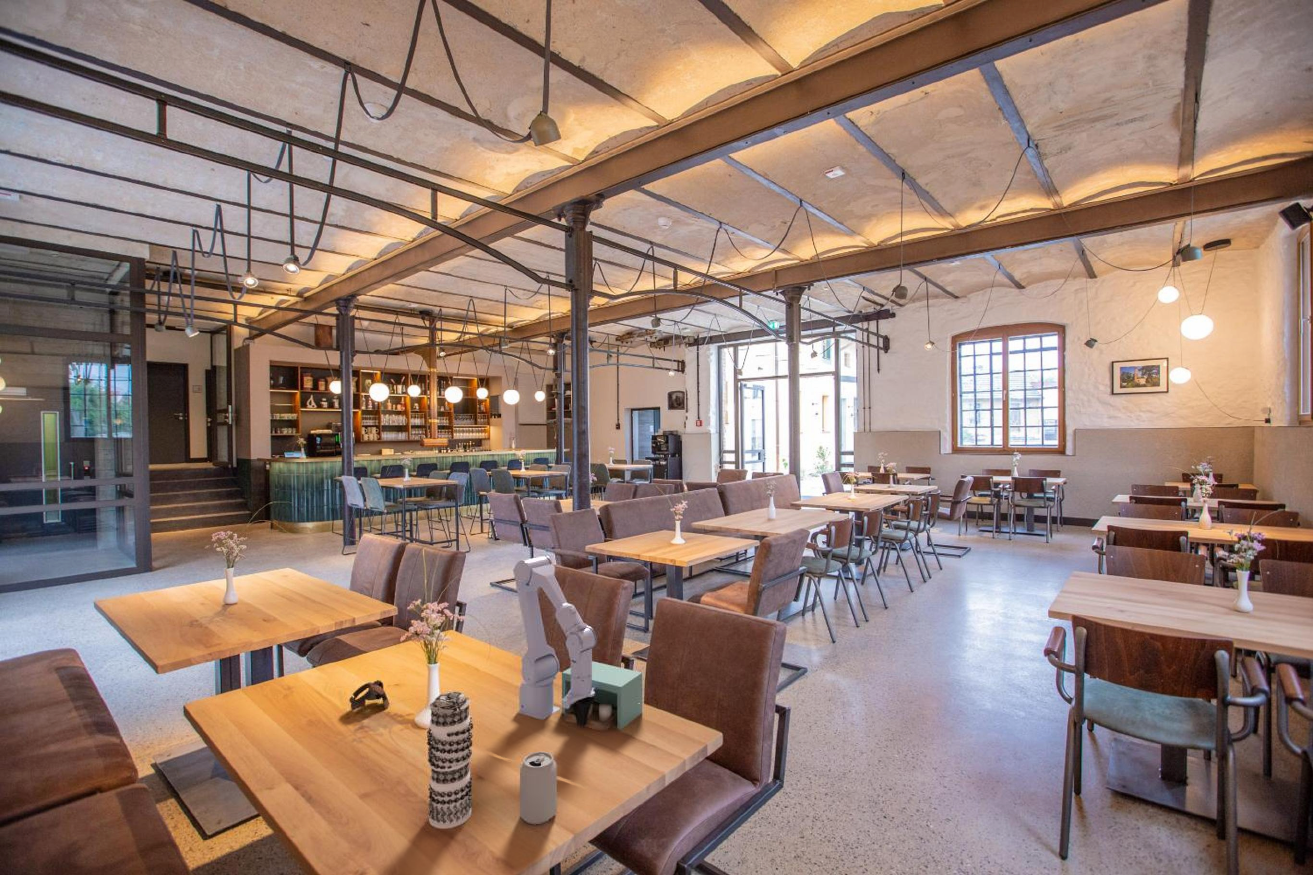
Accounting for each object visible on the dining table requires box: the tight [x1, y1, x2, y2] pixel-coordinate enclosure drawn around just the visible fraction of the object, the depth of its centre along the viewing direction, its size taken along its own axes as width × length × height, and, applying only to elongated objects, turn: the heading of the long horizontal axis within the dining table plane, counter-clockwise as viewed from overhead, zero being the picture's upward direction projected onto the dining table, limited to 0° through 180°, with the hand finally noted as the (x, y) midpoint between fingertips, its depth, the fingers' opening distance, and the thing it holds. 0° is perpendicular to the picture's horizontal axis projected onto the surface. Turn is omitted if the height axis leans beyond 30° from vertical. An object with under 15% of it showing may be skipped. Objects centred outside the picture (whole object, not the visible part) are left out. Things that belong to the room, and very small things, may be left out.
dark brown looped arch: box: [348, 679, 390, 710], centre depth 176 cm, size 12×9×8 cm
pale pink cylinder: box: [598, 703, 613, 723], centre depth 166 cm, size 4×4×4 cm
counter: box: [561, 660, 643, 730], centre depth 170 cm, size 20×11×12 cm, turn 60°
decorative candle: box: [426, 691, 474, 830], centre depth 126 cm, size 9×9×25 cm
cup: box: [587, 702, 594, 718], centre depth 169 cm, size 4×4×4 cm
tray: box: [564, 702, 617, 733], centre depth 166 cm, size 13×9×2 cm
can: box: [519, 751, 558, 825], centre depth 126 cm, size 8×8×12 cm
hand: (581, 724), depth 162 cm, fingers closed
